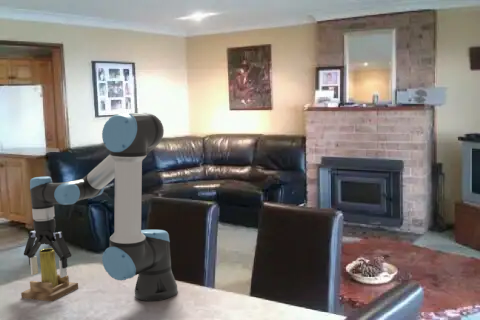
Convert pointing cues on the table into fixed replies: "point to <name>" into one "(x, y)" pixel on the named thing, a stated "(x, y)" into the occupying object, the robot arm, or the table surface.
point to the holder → (49, 289)
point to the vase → (48, 266)
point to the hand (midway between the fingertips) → (49, 275)
